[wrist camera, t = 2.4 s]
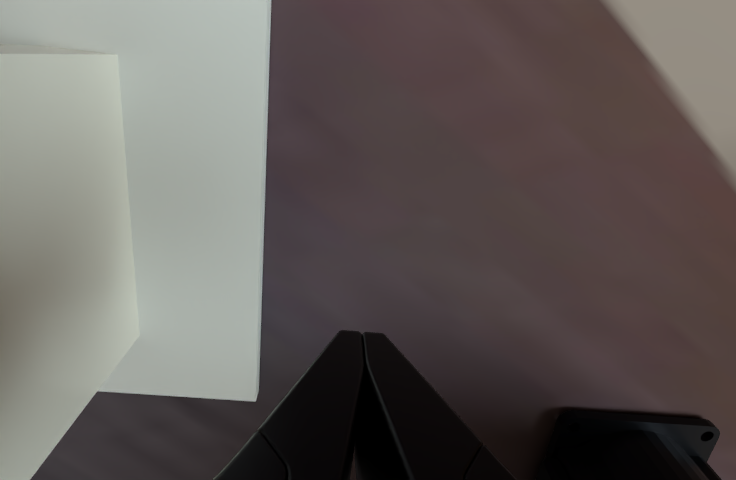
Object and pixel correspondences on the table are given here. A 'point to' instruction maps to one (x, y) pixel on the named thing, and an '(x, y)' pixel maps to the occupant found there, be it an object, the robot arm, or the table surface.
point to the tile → (60, 244)
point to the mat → (182, 177)
